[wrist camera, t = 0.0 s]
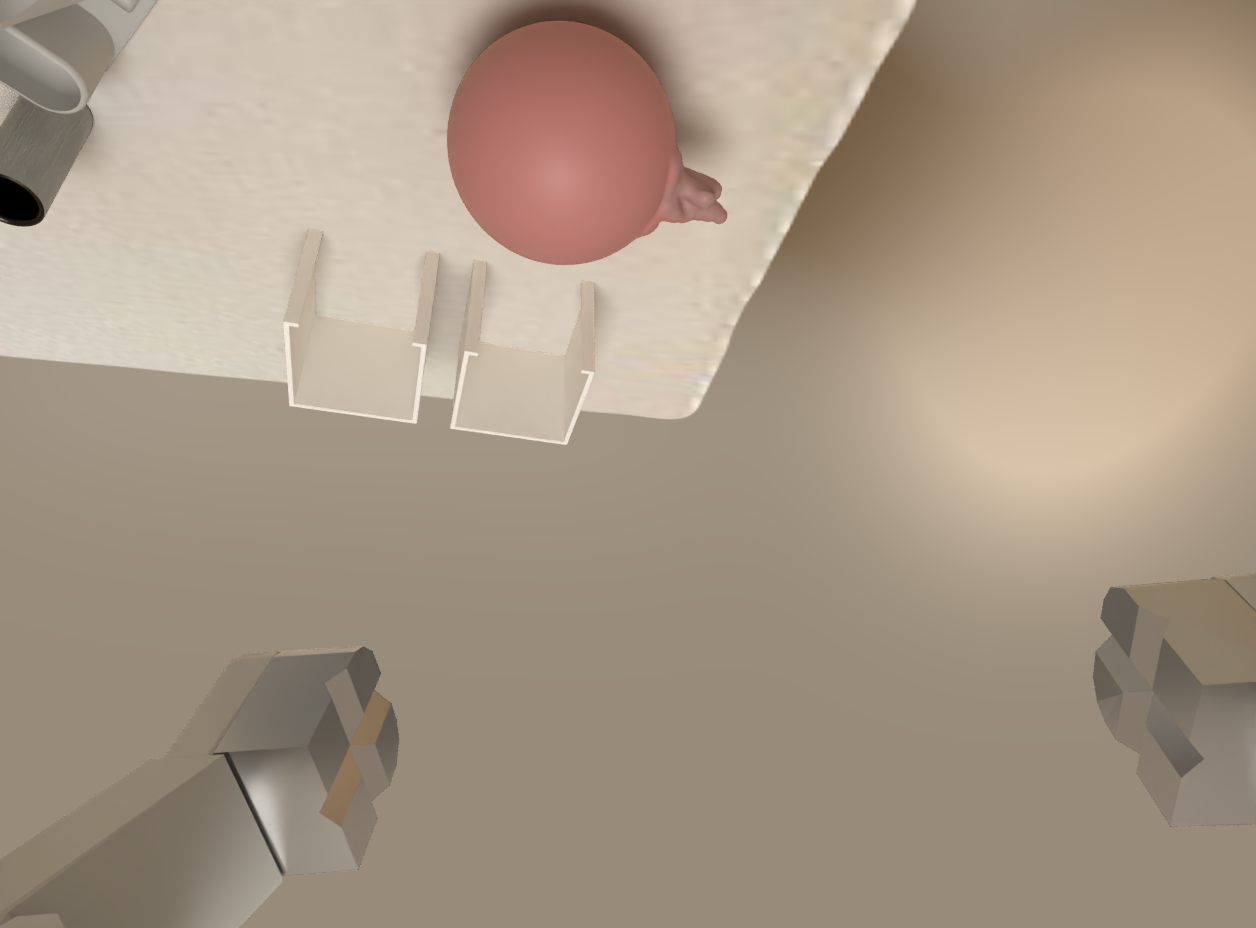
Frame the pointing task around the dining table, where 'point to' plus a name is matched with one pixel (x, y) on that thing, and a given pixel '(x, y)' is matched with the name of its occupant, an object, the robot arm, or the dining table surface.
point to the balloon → (570, 146)
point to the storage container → (395, 359)
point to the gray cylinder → (37, 158)
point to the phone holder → (63, 47)
